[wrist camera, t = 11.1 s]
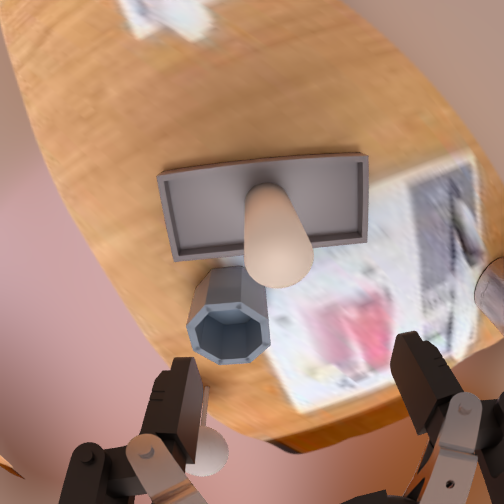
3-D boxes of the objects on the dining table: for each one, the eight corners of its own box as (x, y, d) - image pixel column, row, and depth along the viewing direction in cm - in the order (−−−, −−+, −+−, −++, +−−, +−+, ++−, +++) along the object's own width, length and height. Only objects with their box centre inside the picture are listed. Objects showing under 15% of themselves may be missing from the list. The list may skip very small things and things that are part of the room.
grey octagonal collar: (262, 263, 34) (266, 299, 28) (268, 321, 38) (272, 360, 31) (191, 270, 34) (180, 306, 28) (204, 326, 38) (197, 366, 31)
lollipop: (177, 374, 42) (159, 461, 28) (224, 369, 41) (219, 462, 28) (192, 402, 45) (181, 483, 31) (235, 399, 44) (233, 483, 31)
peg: (287, 180, 29) (312, 222, 18) (290, 222, 31) (314, 284, 20) (242, 185, 29) (240, 229, 19) (247, 227, 31) (248, 291, 20)
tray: (359, 152, 29) (368, 155, 27) (359, 233, 33) (366, 242, 31) (163, 171, 30) (156, 176, 27) (178, 251, 33) (174, 261, 31)
